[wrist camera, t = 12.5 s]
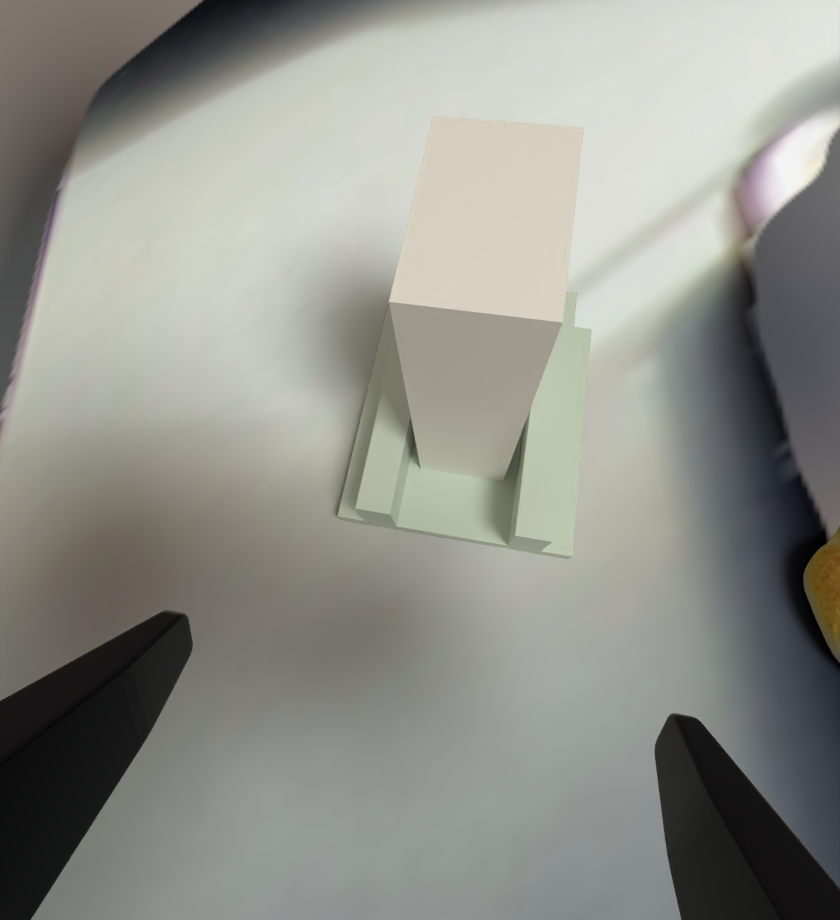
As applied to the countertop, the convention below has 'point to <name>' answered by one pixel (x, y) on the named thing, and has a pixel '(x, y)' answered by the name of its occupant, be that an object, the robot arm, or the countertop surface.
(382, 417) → the tile rack
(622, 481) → the countertop surface
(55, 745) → the robot arm
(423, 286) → the beige rectangular box
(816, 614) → the bread roll
